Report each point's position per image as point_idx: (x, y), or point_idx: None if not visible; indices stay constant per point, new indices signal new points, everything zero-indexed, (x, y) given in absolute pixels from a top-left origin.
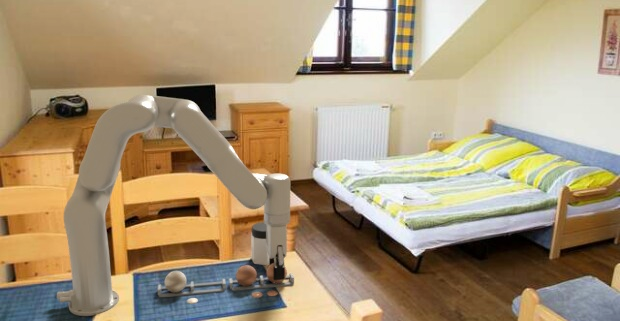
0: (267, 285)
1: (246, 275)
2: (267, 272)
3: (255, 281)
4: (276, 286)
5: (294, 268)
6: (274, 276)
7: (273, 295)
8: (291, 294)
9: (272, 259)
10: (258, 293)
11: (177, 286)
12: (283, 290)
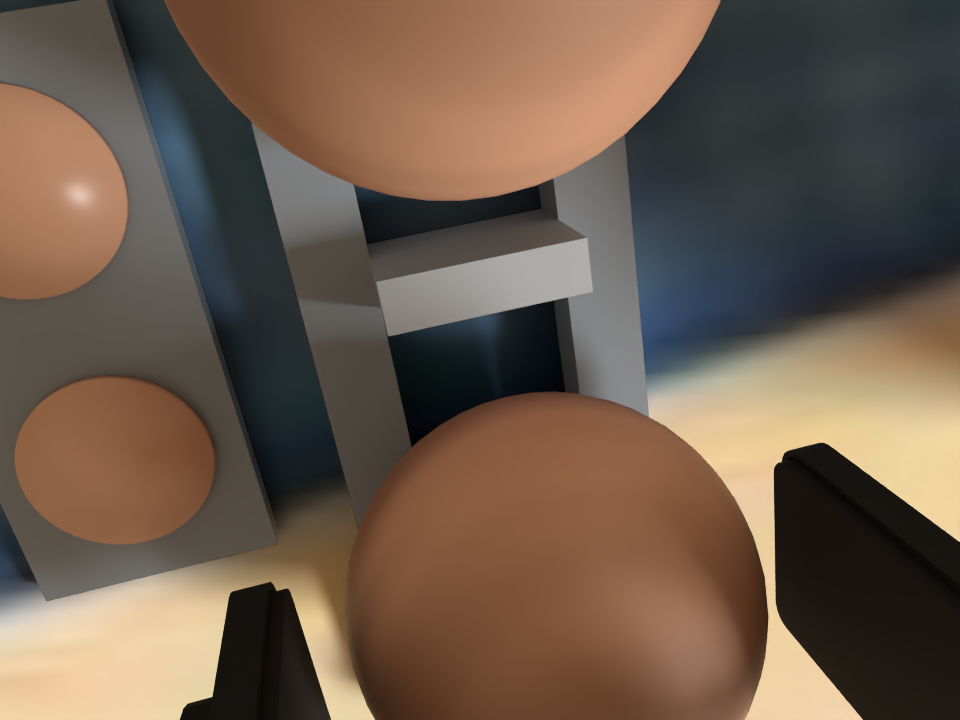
0: (347, 374)
1: None
2: (494, 459)
3: None
4: (353, 505)
5: None
6: (223, 656)
7: (33, 491)
8: (186, 695)
9: (896, 613)
10: (63, 224)
11: None
12: (299, 584)
